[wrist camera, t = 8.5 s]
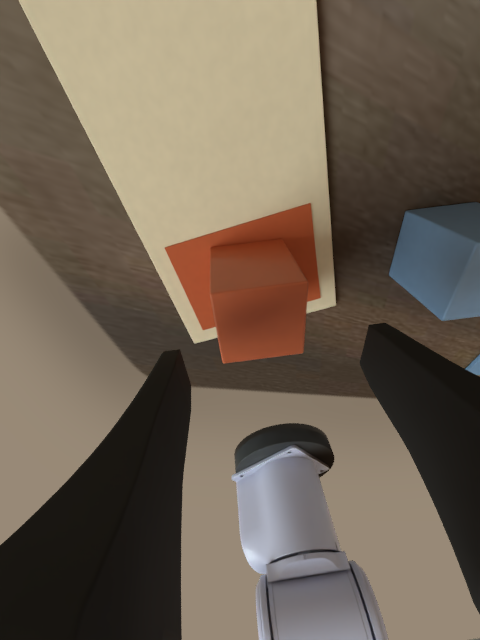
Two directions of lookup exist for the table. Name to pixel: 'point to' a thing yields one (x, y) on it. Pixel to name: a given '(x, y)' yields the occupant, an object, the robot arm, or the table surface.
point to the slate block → (441, 259)
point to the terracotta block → (257, 300)
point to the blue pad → (475, 366)
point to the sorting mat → (202, 129)
